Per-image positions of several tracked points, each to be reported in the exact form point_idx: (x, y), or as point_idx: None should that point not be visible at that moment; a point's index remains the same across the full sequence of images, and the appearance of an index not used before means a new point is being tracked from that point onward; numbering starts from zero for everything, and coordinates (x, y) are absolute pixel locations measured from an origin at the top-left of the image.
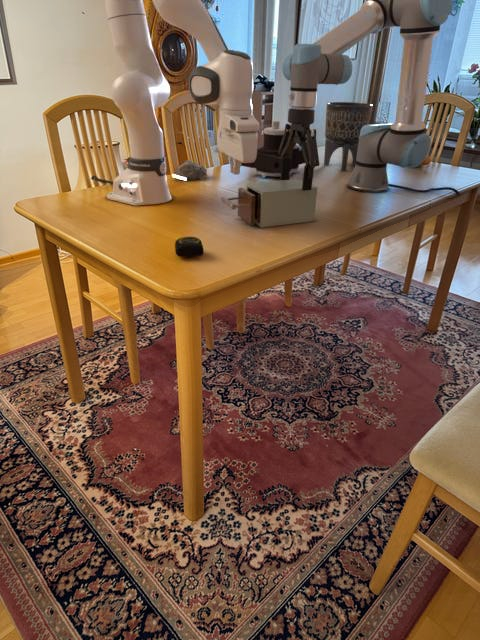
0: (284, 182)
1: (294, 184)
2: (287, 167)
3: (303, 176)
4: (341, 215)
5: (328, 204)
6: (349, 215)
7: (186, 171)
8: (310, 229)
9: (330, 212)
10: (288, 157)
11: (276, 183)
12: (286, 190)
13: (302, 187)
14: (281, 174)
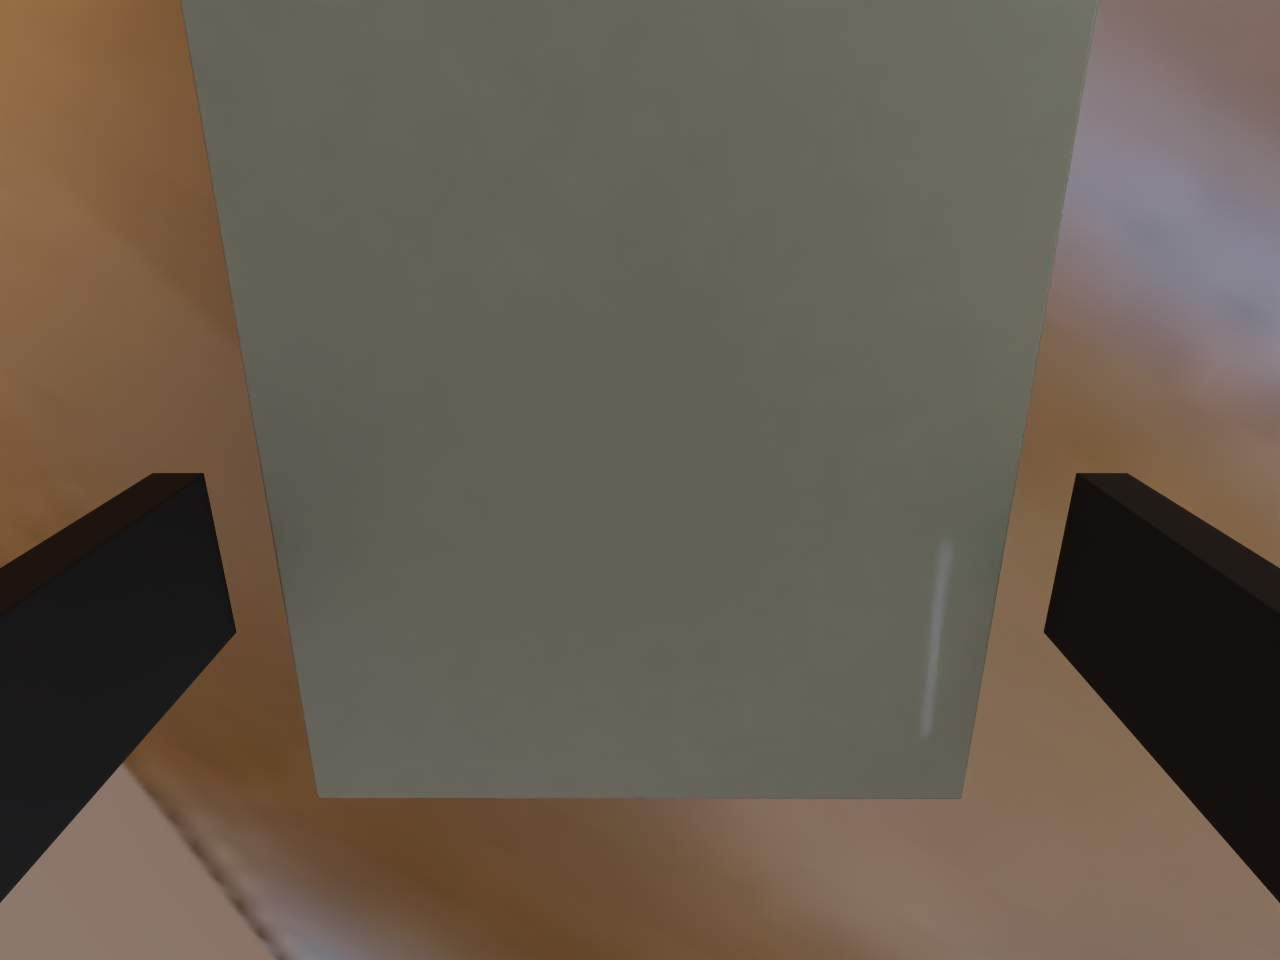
0: (837, 418)
1: (608, 527)
2: (1215, 742)
3: (3, 606)
4: (539, 850)
5: (889, 916)
6: (517, 904)
7: None
8: (198, 369)
9: (656, 813)
10: None
11: (830, 198)
12: (206, 129)
13: (164, 491)
14: (1163, 519)
